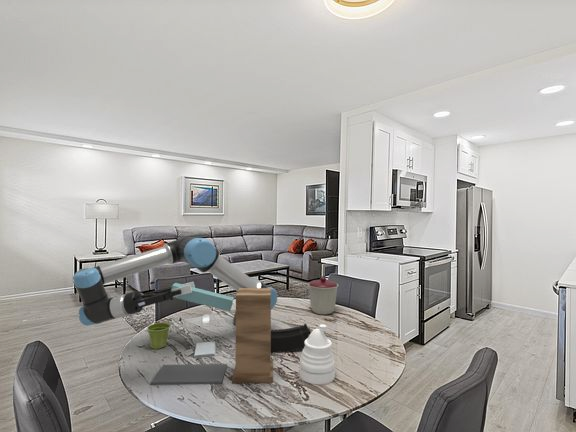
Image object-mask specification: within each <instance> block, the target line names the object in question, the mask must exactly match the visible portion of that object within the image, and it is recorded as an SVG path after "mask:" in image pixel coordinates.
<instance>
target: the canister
mask: <svg viewBox="0 0 576 432" xmlns="http://www.w3.org/2000/svg"><path fill="white" fill-rule="evenodd" d="M307 286H308V290H309V291H308V292H309V300H310V308H311V310H312V312H313V313H314V314H318V315H324V316H325V315H326V316H327V315H330V314H332V313H334V311H335V307H336V301H337V294H338V287H339V286H340V285H339V284H338V283H337V282H336V281H333V280H329V279H327V277H326V276H325V275H324V276H323V275H322V276H321V277H320V278H319V279H314V280H311V281H310V282H308V283H307Z"/></svg>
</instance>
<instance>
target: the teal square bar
mask: <svg viewBox="0 0 576 432" xmlns="http://www.w3.org/2000/svg"><path fill="white" fill-rule="evenodd" d="M182 284H183V283H178V282H174V283H173V284H172V285H171V287H172V288H171V292H172V289H176V288H179V287H183V286H186V285H182ZM191 289H192V292H191V293H188V294H184V295H180V296H177V297H173V296H172V297H173V299H177V300H183V301H186V302H189V303H190V302H191V303H194V304H197V305H201V306H202V305H203V306H205V307H210V308H215V309H219V310H222V311H225V312H226V311H227V312H231V309H232V306H233V302H234V299H235V297H233V296H231V295H230V296H229V295H225V294H221V293H217V292H213V291H209V290H206V289H202V288H197V287H195V288H194V287H191Z"/></svg>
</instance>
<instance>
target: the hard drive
mask: <svg viewBox="0 0 576 432" xmlns="http://www.w3.org/2000/svg"><path fill="white" fill-rule="evenodd" d="M215 356H216V341H213V340H212V341H205V342H204V341H203V342H197V343H195V350H194V356H193V358H194V359H198V358H199V359H200V358H201V357H202V358H210V357H211V358H212V357H215ZM202 358H201V359H202Z"/></svg>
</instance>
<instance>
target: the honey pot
mask: <svg viewBox="0 0 576 432" xmlns="http://www.w3.org/2000/svg"><path fill="white" fill-rule="evenodd" d="M326 329H327V325H326V324H319V328H315V329H313V330H311V331H312V332H311V334H310V335H309V337H308V338H307V339H306V340H305V341H304V344H305V347H304V349H302V352H301V356H300V357H299V377H300V379H302V380H303V381H305V382H306V383H309V384H311V385H320V386H321V385H326V384H329V383H332V382H333V381H334V380H335V378H336V359H335V357H334V354H333V350H332V348H331V347H332V346H333V343H332V341H331V339H329V338H328V337H327V336H326V335H325V333H324V332H325V331H326Z"/></svg>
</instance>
